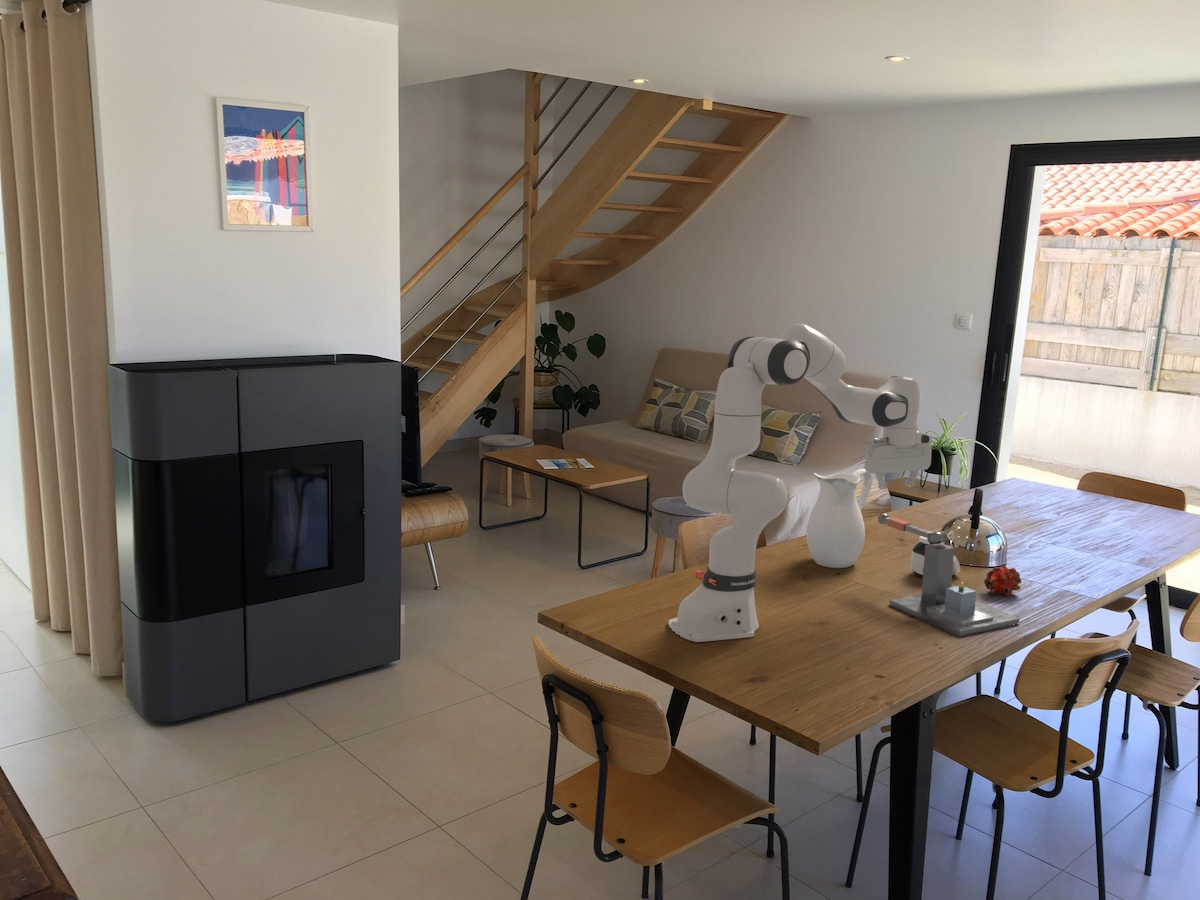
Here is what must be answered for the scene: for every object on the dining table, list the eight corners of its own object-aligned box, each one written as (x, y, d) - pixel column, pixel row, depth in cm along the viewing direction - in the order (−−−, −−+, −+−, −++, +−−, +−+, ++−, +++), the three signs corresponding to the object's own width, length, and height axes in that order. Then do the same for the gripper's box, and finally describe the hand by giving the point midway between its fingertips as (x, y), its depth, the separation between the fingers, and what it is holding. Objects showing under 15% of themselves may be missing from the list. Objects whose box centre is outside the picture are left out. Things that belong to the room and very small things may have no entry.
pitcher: (837, 575, 274) (842, 481, 269) (793, 560, 287) (797, 470, 282) (889, 560, 288) (895, 471, 283) (845, 547, 301) (850, 461, 296)
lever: (935, 546, 244) (936, 534, 244) (873, 523, 265) (874, 512, 264) (947, 544, 246) (948, 532, 245) (884, 522, 266) (885, 511, 266)
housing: (959, 617, 235) (962, 587, 234) (944, 610, 240) (946, 581, 238) (974, 614, 237) (977, 584, 236) (959, 607, 242) (961, 578, 240)
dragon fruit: (1019, 596, 262) (988, 609, 257) (999, 572, 267) (968, 584, 262) (1035, 579, 256) (1003, 591, 251) (1013, 554, 260) (982, 566, 255)
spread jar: (906, 574, 275) (909, 535, 273) (924, 566, 283) (927, 528, 281) (946, 584, 267) (949, 544, 265) (963, 575, 275) (967, 536, 273)
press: (959, 637, 229) (965, 571, 225) (889, 605, 250) (893, 544, 247) (1018, 624, 237) (1024, 560, 234) (946, 594, 258) (950, 536, 255)
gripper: (877, 440, 246) (873, 492, 248) (936, 436, 255) (932, 487, 257) (861, 437, 252) (857, 488, 254) (919, 433, 260) (916, 482, 263)
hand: (896, 487), depth 256 cm, fingers open, 8 cm apart
